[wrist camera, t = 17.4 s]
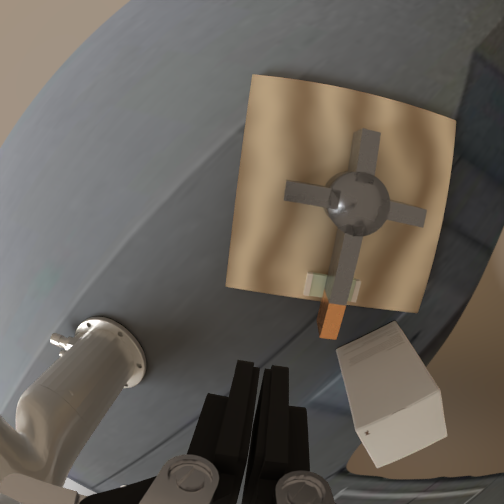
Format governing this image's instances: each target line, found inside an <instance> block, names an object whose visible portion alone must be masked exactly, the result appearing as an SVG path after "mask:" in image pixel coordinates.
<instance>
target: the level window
mask: <svg viewBox="0 0 504 504" xmlns="http://www.w3.org/2000/svg"><path fill="white" fill-rule="evenodd" d="M326 279H327V274H320V273H313V272H307V277H306V282H305V287H304V292H303V295H304V296H314V297H321V298H322V296H323V292H324V288H325V283H326ZM360 285H361V280H360V279H354V278H353V281H352V285H351V289H350V293H349V297H348V301H350V302H355V303H356V300H357V296H358V293H359V289H360Z"/></svg>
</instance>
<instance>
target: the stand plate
mask: <svg viewBox="0 0 504 504" xmlns="http://www.w3.org/2000/svg"><path fill="white" fill-rule="evenodd" d="M362 128H364V129H368V130H372V131H376V132H380V133H381V136H380V143H379V151H378V157H377V164H376V170H375V177H377V178H378V179H379V180H380V181H381V182H382V183H383V184H384V185H385V187H386V189H387V191H388V193H389V197H390V200H394V201H398V202H403V203H407V204H411V205H414V206H417V207H420V208H423V209H426V210H427V213H426V218H425V222H424V227H423V228H422V227H417V226H413V225H408V224H404V223H399V222H395V221H390V220H386V221H385V223H384V224H383V225H382V227H381V228H380V229H378V230H377V231H376V232H374V233H372V234H370V235H367V236H363V239H362V244H361V248H360V252H359V257H358V261H357V265H356V269H355V273H354V279H360V280H361V285H360V289H359V293H358V296H357V300H356V303H355V302H350V301H347V304H346V305H353V306H361V307H369V308H377V309H386V310H394V311H403V312H412V313H418V310H419V307H420V304H421V301H422V298H423V295H424V291H425V288H426V285H427V281H428V278H429V274H430V271H431V267H432V263H433V260H434V256H435V252H436V248H437V244H438V239H439V235H440V230H441V226H442V221H443V216H444V211H445V206H446V200H447V194H448V188H449V182H450V175H451V168H452V160H453V151H454V141H455V129H456V120H453V119H450V118H448V117H445V116H442V115H439V114H436V113H433V112H431V111H428V110H425V109H421V108H418V107H415V106H412V105H409V104H405V103H402V102H399V101H395V100H391V99H388V98H384V97H380V96H376V95H372V94H368V93H364V92H360V91H356V90H351V89H346V88H342V87H337V86H332V85H326V84H321V83H315V82H309V81H303V80H296V79H289V78H281V77H273V76H263V75H252V81H251V88H250V95H249V102H248V109H247V117H246V124H245V131H244V138H243V146H242V153H241V161H240V169H239V177H238V185H237V192H236V201H235V209H234V217H233V225H232V234H231V242H230V251H229V260H228V269H227V278H226V287H231V288H237V289H243V290H249V291H255V292H262V293H268V294H275V295H281V296H288V297H295V298H302V299H309V300H316V301H321V300H322V298H321V297H314V296H304V295H303V292H304V287H305V282H306V277H307V272H313V273H320V274H327V275H328V270H329V266H330V261H331V256H332V252H333V247H334V242H335V237H336V232H337V226H336V225H335V224H334V223H333V222H332V220H331V219H330V218H329V217H328V216H327V214H326V212H325V210H324V208H323V207H319V206H313V205H307V204H302V203H296V202H290V201H284V191H285V184H286V179H288V180H294V181H300V182H305V183H311V184H317V185H322V186H325V185H326V183H327V182H328V181H329V180H330V179H331V178H332V177H333V176H334V175H336V174H338V173H340V172H344V171H348V165H349V159H350V152H351V145H352V138H353V133H354V132H356V131H358V130H360V129H362Z"/></svg>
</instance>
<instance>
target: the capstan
mask: <svg viewBox="0 0 504 504" xmlns="http://www.w3.org/2000/svg"><path fill="white" fill-rule="evenodd" d="M380 136H381V133H380V132H376V131H372V130H368V129H364V128H362V129H360V130H358V131H356V132H354V133H353V138H352V145H351V152H350V159H349V165H348V171H344V172H340V173H338V174H336V175H334V176H333V177H332V178H331V179H330V180H329V181H328V182H327V183H326V185H325V186H322V185H317V184H311V183H305V182H300V181H294V180H288V179H286V184H285V191H284V201H290V202H296V203H302V204H307V205H313V206H319V207H323V208H324V210H325V212H326V214H327V216H328V217H329V218H330V219H331V220H332V222H333V223H334V224H335V225H336V226H337V232H336V237H335V242H334V247H333V252H332V256H331V261H330V266H329V270H328V275H327V279H326V283H325V288H324V292H323V296H322V300H321V304H320V308H319V312H318V316H317V325H318V331H319V336H320V338H326V339H334V340H336V339H337V336H338V332H339V329H340V325H341V322H342V319H343V315H344V311H345V308H346V304H347V301H348V297H349V293H350V289H351V285H352V281H353V278H354V273H355V269H356V265H357V261H358V257H359V252H360V248H361V244H362V239H363V236H367V235H370V234H372V233H374V232H376V231H377V230H378V229H380V228H381V227H382V225H383V224H384V223H385V221H386V220H390V221H395V222H399V223H404V224H408V225H413V226H417V227H422V228H423V227H424V222H425V218H426V213H427V210H426V209H423V208H420V207H417V206H414V205H411V204H407V203H403V202H398V201H394V200H390V197H389V193H388V191H387V189H386V187H385V185H384V184H383V183H382V182H381V181H380V180H379V179H378V178H377V177H375V170H376V164H377V157H378V151H379V143H380Z"/></svg>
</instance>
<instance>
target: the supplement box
mask: <svg viewBox="0 0 504 504" xmlns="http://www.w3.org/2000/svg"><path fill="white" fill-rule="evenodd" d="M336 353H337V357H338V360H339V364H340V368H341V372H342V376H343V380H344V384H345V388H346V392H347V396H348V400H349V404H350V409H351V413H352V417H353V422H354V426H355V431H356V432H357V434H358V436H359V438H360V440H361V441H362V443H363V445H364V447H365V448H366V450H367V452H368V453H369V455H370V457H371V459H372V460H373V462H374V464H375V465H376V468H379V467H382V466H384V465H387V464H389V463H392V462H394V461H396V460H399V459H401V458H403V457H406V456H408V455H410V454H412V453H414V452H416V451H419V450H421V449H423V448H425V447H427V446H429V445H431V444H433V443H435V442H437V441H439V440H441V439H443V438H445V437H447V430H446V424H445V419H444V412H443V404H442V398H441V392H440V389H439V387H438V386H437V384H436V383H435V381H434V380H433V378H432V376H431V375H430V373H429V372H428V370H427V368H426V367H425V365H424V364H423V362H422V360H421V359H420V357H419V356H418V354H417V353H416V351H415V350H414V348H413V346H412V345H411V343H410V342H409V340H408V339H407V337H406V336H405V334H404V333H403V331H402V330H401V328H400V327H399V325H398V324H397V322H396V321H393V322H391V323H389V324H387V325H385V326H383V327H381V328H379V329H377V330H375V331H373V332H371V333H369V334H367V335H365V336H363V337H361V338H359V339H357V340H355V341H352V342H350V343H348V344H346V345H344V346H342V347H340V348H337V349H336Z"/></svg>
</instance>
